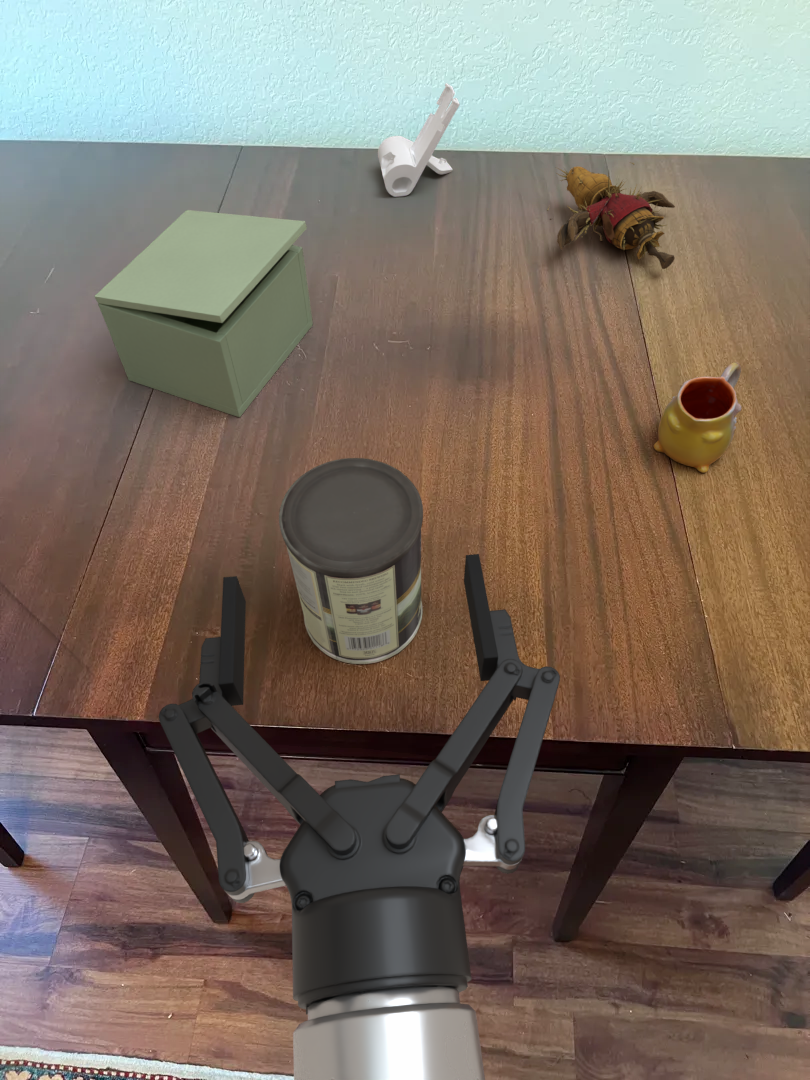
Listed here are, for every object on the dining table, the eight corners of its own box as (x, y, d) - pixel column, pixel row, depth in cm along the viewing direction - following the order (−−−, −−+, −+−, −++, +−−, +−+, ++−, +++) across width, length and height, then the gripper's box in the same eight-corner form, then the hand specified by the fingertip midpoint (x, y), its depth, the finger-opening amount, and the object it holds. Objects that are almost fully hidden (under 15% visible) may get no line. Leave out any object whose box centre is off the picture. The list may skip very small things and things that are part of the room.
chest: (313, 324, 89) (302, 247, 81) (239, 417, 81) (219, 341, 72) (209, 294, 92) (188, 217, 84) (128, 380, 84) (97, 303, 76)
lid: (307, 228, 79) (305, 220, 78) (222, 323, 70) (219, 315, 70) (189, 216, 84) (186, 209, 84) (97, 303, 76) (93, 296, 75)
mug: (702, 483, 75) (725, 435, 69) (640, 449, 77) (657, 400, 72) (760, 414, 80) (785, 364, 74) (699, 384, 82) (719, 334, 77)
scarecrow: (670, 207, 102) (688, 147, 96) (675, 282, 92) (695, 221, 86) (540, 196, 104) (549, 136, 97) (531, 268, 94) (540, 207, 88)
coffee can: (379, 543, 71) (372, 436, 60) (446, 624, 66) (452, 525, 55) (280, 598, 68) (252, 496, 56) (342, 688, 63) (326, 597, 51)
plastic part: (378, 168, 108) (373, 79, 99) (449, 161, 109) (451, 72, 99) (385, 198, 104) (381, 107, 94) (458, 190, 104) (461, 99, 95)
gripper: (110, 1045, 35) (153, 631, 47) (656, 982, 36) (558, 592, 48) (44, 1034, 29) (113, 561, 41) (704, 958, 30) (578, 519, 42)
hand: (353, 577), depth 45 cm, fingers open, 13 cm apart
